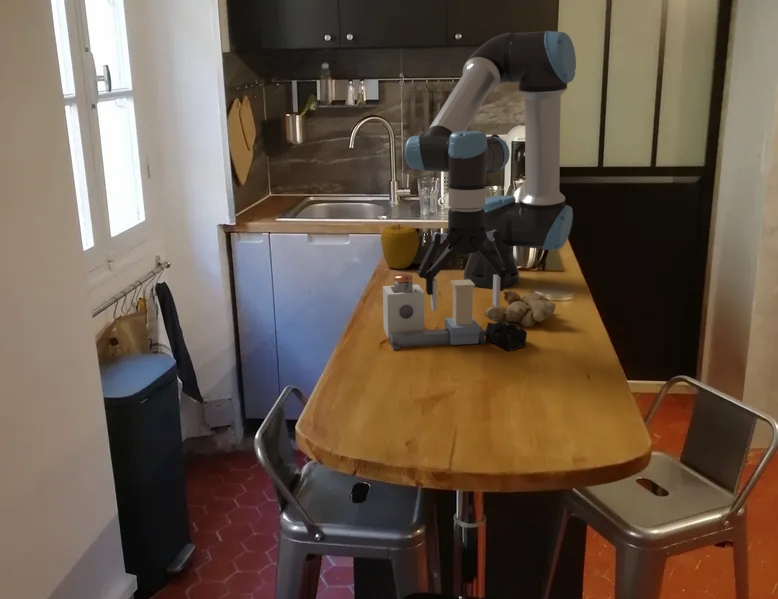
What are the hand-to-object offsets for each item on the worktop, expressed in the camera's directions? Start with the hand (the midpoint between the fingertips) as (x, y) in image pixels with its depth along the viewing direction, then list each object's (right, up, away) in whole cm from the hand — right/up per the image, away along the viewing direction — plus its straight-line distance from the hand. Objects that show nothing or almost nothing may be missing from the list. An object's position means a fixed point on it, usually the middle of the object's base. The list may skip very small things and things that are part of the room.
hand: (464, 307), depth 168 cm
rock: (+8, -8, +1) cm, 12 cm away
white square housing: (-13, -6, +8) cm, 16 cm away
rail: (-6, -8, +1) cm, 10 cm away
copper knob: (-13, +1, +6) cm, 14 cm away
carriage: (0, -7, +2) cm, 8 cm away
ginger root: (+15, -3, +16) cm, 22 cm away
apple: (-13, +11, +66) cm, 68 cm away
